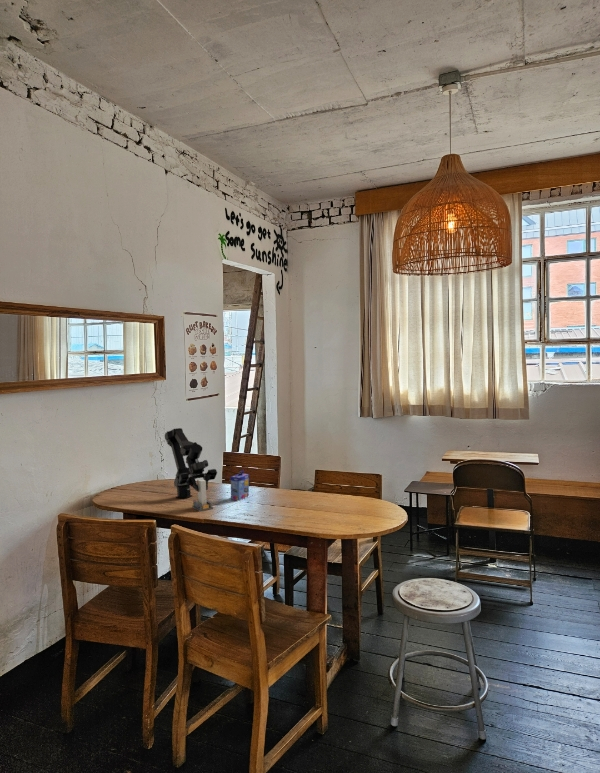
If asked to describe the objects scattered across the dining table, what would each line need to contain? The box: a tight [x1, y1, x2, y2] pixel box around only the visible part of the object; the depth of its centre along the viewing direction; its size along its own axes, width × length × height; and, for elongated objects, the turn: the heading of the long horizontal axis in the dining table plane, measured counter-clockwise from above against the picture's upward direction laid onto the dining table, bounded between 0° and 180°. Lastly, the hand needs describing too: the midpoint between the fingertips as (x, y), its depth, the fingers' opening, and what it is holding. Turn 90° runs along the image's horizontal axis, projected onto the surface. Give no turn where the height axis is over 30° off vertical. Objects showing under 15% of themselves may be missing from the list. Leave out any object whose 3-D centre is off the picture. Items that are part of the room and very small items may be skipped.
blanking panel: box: [196, 478, 208, 505], centre depth 258 cm, size 5×2×13 cm, turn 32°
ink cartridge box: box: [230, 470, 250, 501], centre depth 275 cm, size 10×6×14 cm, turn 152°
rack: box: [192, 499, 214, 512], centre depth 258 cm, size 9×7×3 cm
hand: (202, 490), depth 256 cm, fingers open, 4 cm apart
